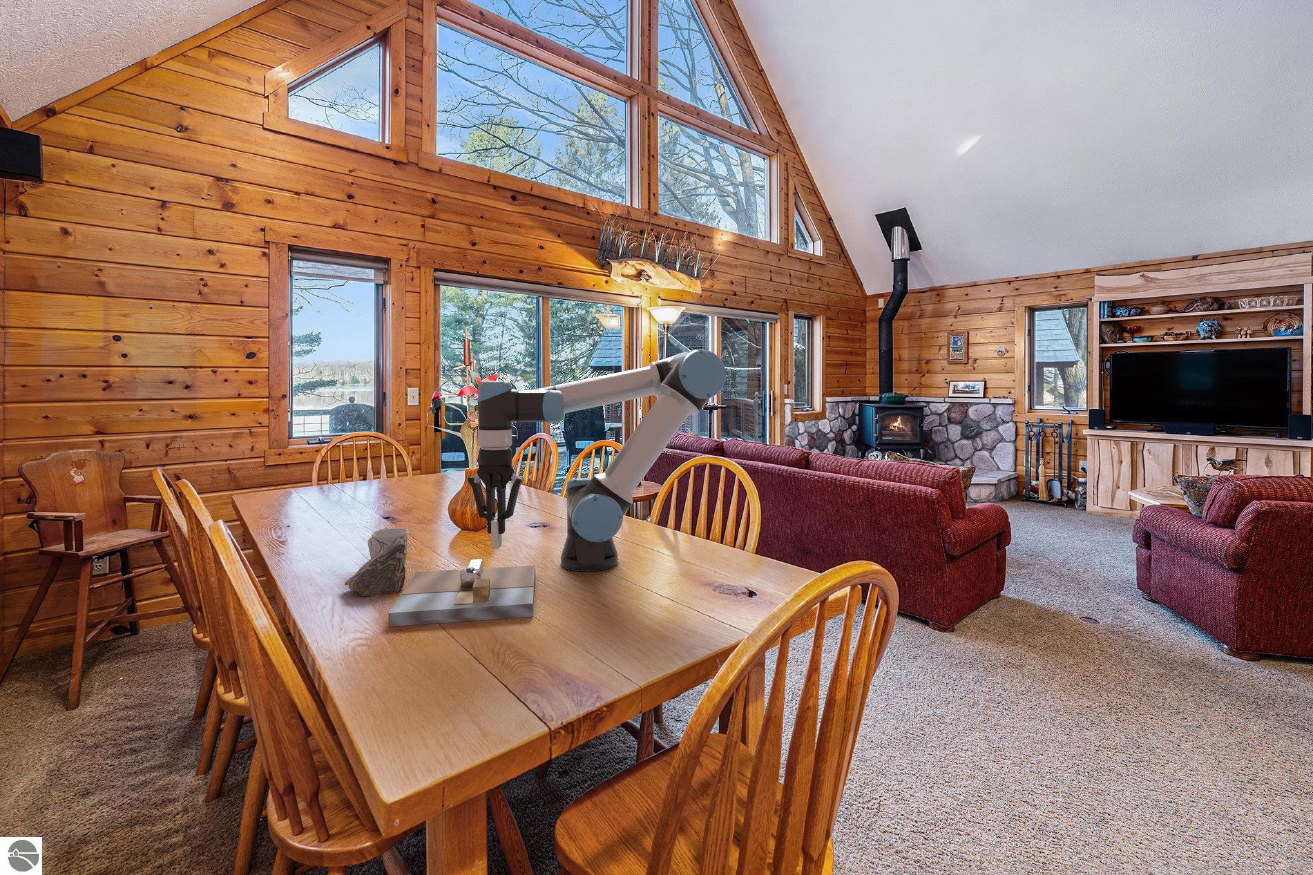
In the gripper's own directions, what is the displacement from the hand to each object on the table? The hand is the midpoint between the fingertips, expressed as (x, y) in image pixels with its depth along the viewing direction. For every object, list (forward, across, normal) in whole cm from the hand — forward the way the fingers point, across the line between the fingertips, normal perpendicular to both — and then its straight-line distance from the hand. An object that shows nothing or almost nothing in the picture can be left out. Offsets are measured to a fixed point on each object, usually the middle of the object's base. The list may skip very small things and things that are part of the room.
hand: (496, 547), depth 139 cm
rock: (+10, +28, +3) cm, 30 cm away
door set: (+10, +3, +8) cm, 13 cm away
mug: (+10, +33, -10) cm, 36 cm away
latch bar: (+7, +5, +2) cm, 8 cm away
